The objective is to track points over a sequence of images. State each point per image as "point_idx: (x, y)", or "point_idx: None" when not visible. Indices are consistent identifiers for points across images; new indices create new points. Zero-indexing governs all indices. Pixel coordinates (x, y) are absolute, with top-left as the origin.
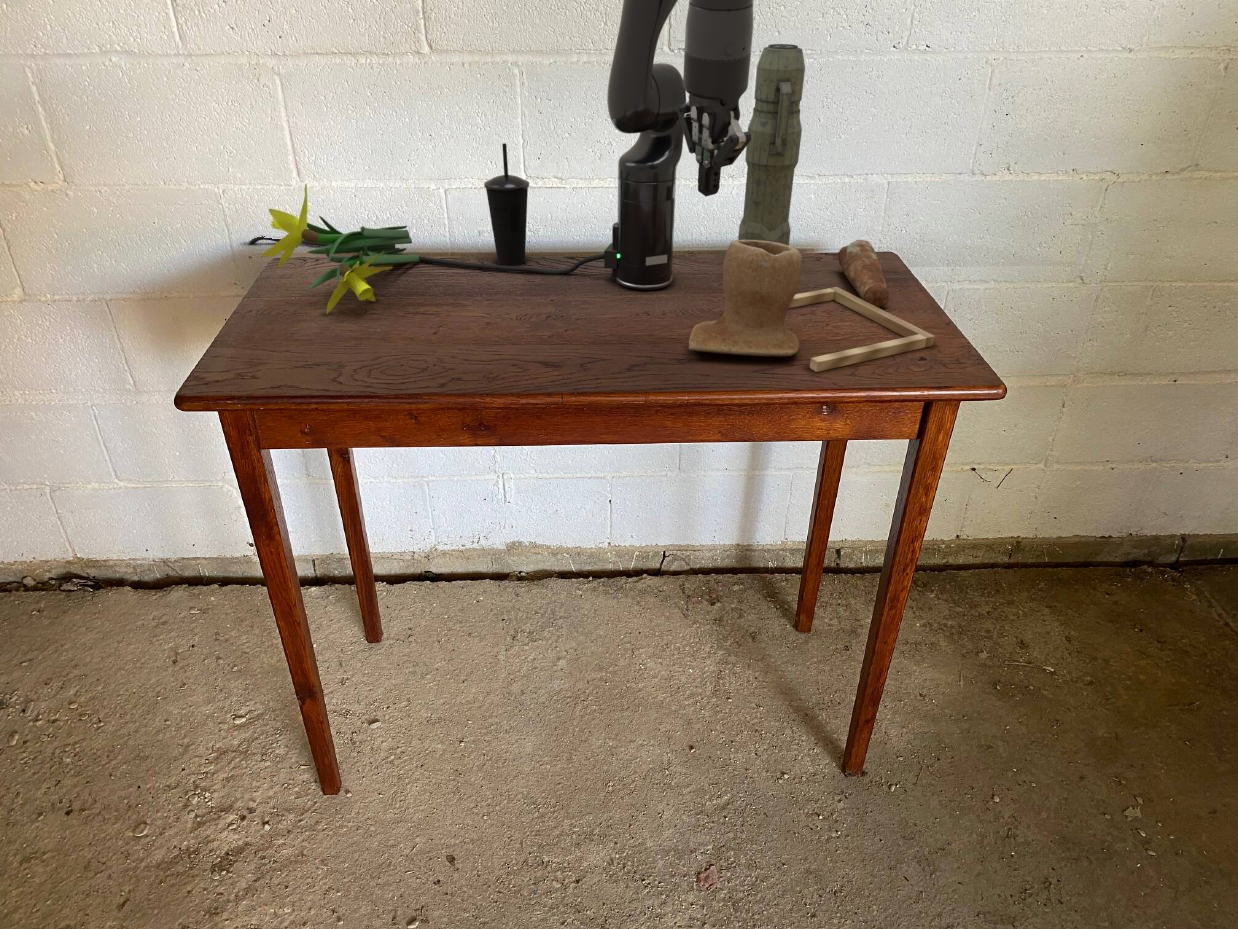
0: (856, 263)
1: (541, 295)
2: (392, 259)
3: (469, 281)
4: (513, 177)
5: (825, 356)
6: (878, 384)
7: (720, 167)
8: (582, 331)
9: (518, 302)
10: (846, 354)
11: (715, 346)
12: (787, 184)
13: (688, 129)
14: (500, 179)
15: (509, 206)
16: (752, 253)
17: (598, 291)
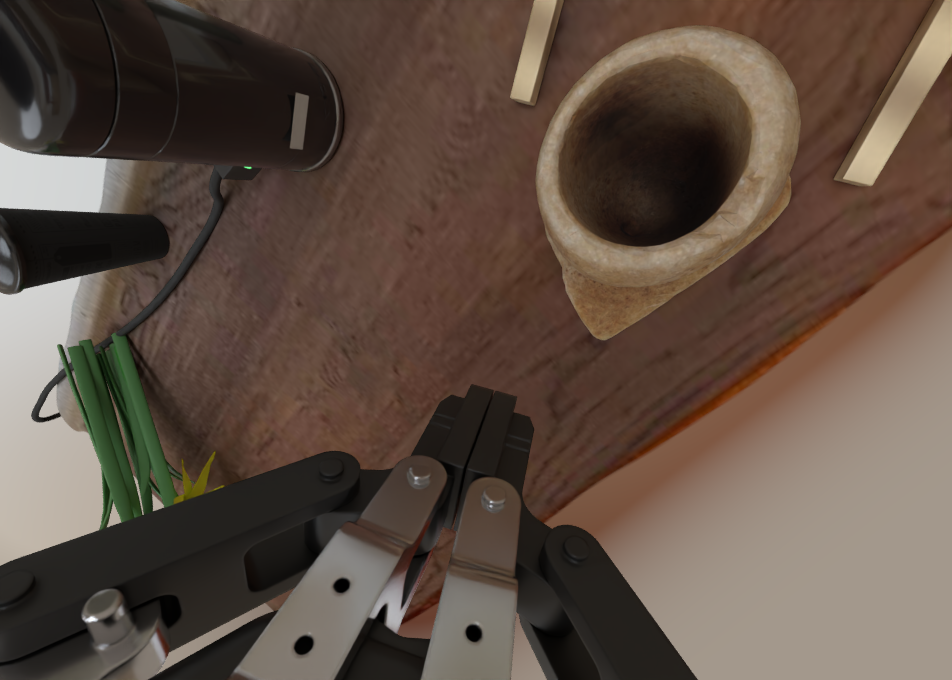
0: None
1: (277, 300)
2: (144, 413)
3: (199, 334)
4: None
5: (874, 142)
6: None
7: (523, 506)
8: (410, 357)
9: (284, 342)
10: (925, 83)
11: (643, 312)
12: None
13: (238, 613)
14: None
15: (60, 267)
16: (675, 273)
17: (300, 219)
